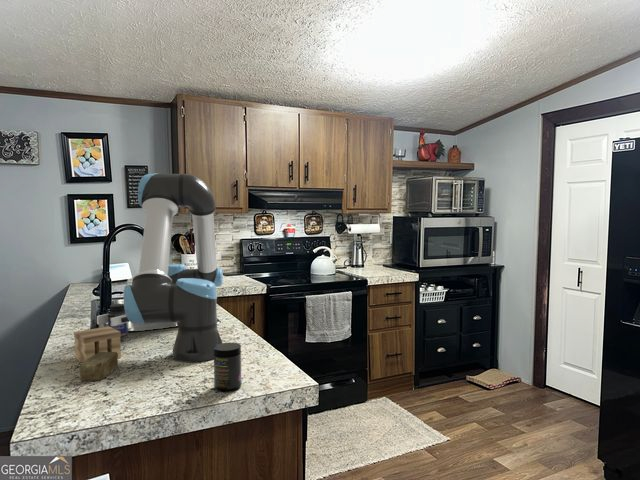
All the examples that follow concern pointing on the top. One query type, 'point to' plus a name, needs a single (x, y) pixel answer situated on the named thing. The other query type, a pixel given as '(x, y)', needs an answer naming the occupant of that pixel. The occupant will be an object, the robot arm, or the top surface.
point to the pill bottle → (116, 311)
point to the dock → (96, 342)
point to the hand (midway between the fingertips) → (104, 321)
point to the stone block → (98, 366)
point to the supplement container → (227, 366)
